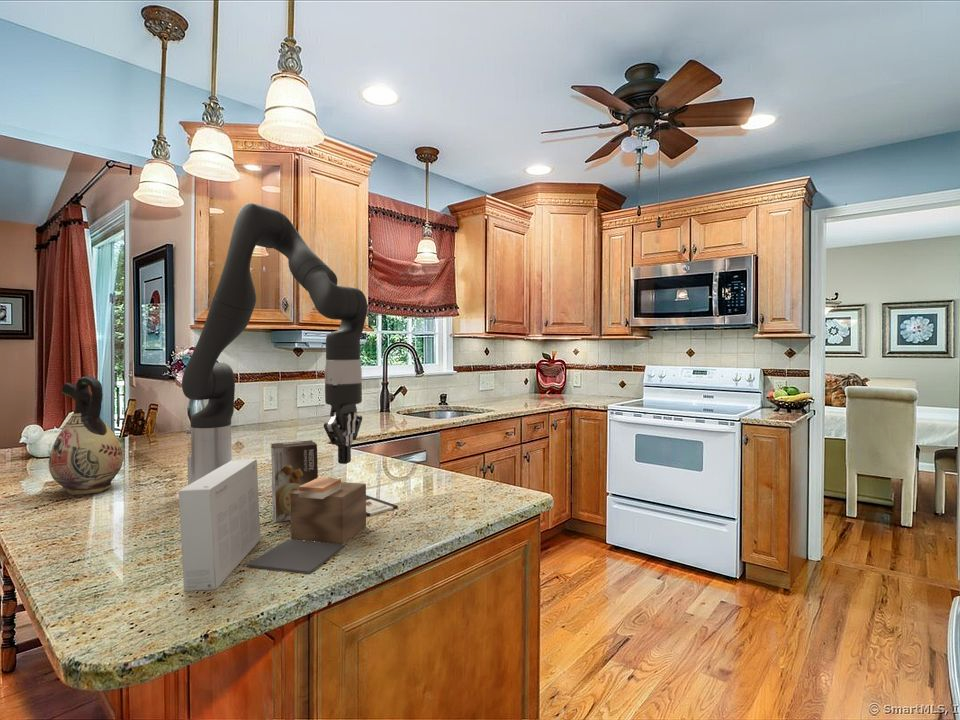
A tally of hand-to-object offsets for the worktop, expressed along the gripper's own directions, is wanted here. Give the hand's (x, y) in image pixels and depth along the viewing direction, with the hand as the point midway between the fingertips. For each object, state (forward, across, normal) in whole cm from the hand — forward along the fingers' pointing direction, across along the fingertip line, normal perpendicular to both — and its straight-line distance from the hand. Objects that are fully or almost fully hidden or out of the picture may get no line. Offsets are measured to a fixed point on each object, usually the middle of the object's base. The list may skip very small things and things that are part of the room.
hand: (344, 463), depth 111 cm
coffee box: (+13, -2, -13) cm, 19 cm away
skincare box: (+13, +23, -10) cm, 29 cm away
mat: (+13, +18, 0) cm, 22 cm away
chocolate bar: (+13, -13, -3) cm, 19 cm away
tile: (+4, +10, 0) cm, 10 cm away
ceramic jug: (+12, -7, -76) cm, 78 cm away
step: (+13, +6, 0) cm, 14 cm away
